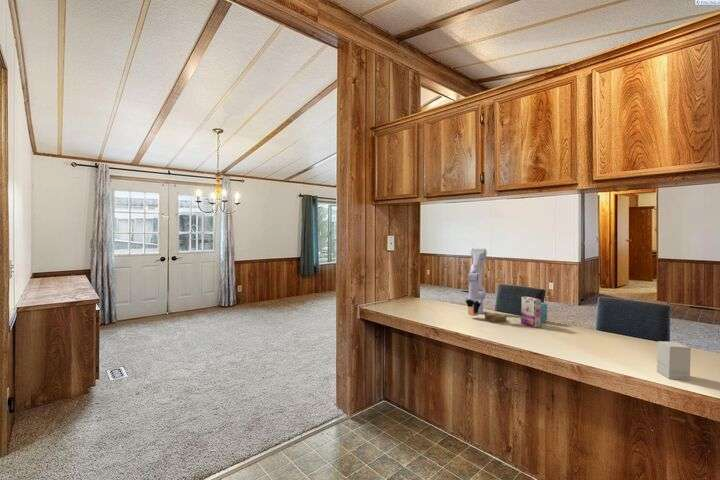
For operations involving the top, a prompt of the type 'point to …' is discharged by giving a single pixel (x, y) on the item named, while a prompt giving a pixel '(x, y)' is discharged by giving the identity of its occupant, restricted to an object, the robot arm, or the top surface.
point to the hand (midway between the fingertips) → (473, 312)
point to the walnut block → (495, 317)
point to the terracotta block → (471, 311)
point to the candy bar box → (531, 311)
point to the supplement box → (673, 360)
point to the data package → (543, 312)
